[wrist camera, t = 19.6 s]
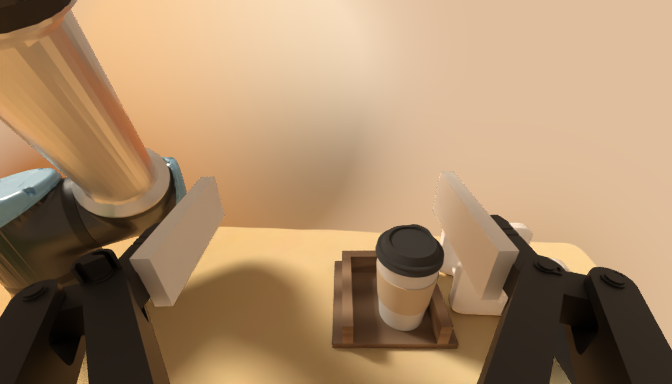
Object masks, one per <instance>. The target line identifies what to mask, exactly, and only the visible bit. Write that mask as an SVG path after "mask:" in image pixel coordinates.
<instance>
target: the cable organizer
mask: <svg viewBox="0 0 672 384" xmlns="http://www.w3.org/2000/svg"><path fill="white" fill-rule="evenodd" d="M509 224H510V225H511V226H512V227H513V228H514V230H516V231H517V232H518V234H519V236H521V237H522V238H523V239H524V240H525V241H526V242H527V244H528V245H529V244H530V241H531V239H532V236H533V233H532V231H531V230H530V229H529V228H528V227H527V226H526V225H525V224H522V223H509ZM440 244H441V246H442V248H443V250H444V262H443V265H442V267H441V268H440V270H439V271H440V272H442V273H445V274H448V275H452V276H453V279H454V281H453V285H452V288H451V292H450V296H449V302H450V305H451V308H452V309H453V310H454V311H455V312H457V313H461V314H475V315H499V316H501V313H502V310H503V308H504V306H505V304H506V302H507V299H508V297H507V295H506V293H505V292H504V290H503V291H502V293H501V295H500V298H499V300H481V299H480V298H479V296H478V294H477V292H476V290H475V288H474V287H473V285H472V283H471V281H470V279H469V277H468V275H467V274H466V272H465V270H464V268H463V266H462V264H461V262H460V261H459V259H458V257H457V255H456V253H455V251H454V250H453V248H452V246H451V244H450V242H449V240H448V238H447V237H446V235H445V233H444V231H443V230H442V235H441V240H440ZM550 259H552V260H554V261H556V262H557V263H558V264H560V265H561V266H562V267H563V268H564V270H565V271H568V272H571V271H570V270H569V269H568V268H567V266H566V265H565V264H564V263H563V262H562V261H560V260H558V259H553V258H550Z"/></svg>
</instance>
